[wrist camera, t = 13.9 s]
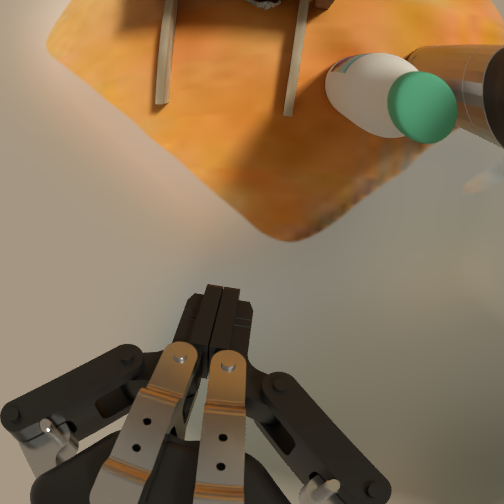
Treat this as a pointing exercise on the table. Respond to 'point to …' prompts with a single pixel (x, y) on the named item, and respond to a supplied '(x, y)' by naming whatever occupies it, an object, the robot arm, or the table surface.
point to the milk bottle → (391, 97)
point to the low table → (167, 40)
